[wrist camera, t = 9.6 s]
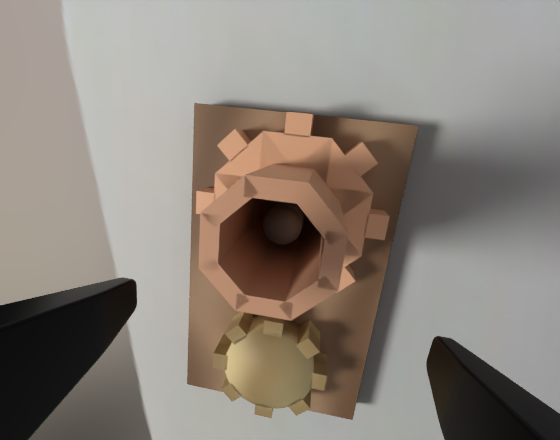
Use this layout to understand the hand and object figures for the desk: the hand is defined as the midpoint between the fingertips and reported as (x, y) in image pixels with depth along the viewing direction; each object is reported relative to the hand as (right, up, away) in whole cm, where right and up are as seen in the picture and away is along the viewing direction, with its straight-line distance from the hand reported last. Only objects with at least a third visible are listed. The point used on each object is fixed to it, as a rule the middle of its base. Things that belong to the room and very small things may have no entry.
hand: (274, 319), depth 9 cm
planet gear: (+1, +4, +10) cm, 10 cm away
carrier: (0, -1, +12) cm, 12 cm away
